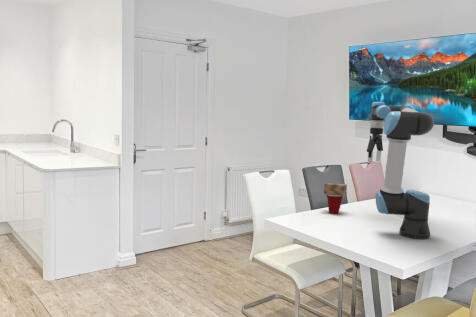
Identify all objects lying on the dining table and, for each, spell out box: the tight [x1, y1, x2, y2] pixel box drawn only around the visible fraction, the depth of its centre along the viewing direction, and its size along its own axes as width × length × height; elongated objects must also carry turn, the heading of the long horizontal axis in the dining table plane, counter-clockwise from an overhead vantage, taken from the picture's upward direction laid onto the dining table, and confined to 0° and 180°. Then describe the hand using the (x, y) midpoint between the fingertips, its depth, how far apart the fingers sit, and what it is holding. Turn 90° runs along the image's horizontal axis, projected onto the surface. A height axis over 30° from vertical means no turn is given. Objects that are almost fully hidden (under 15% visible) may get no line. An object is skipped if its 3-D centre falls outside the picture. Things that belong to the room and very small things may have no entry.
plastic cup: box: [325, 194, 345, 215], centre depth 276 cm, size 11×11×12 cm
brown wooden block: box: [323, 182, 348, 196], centre depth 275 cm, size 12×9×6 cm
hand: (374, 162), depth 273 cm, fingers open, 13 cm apart
